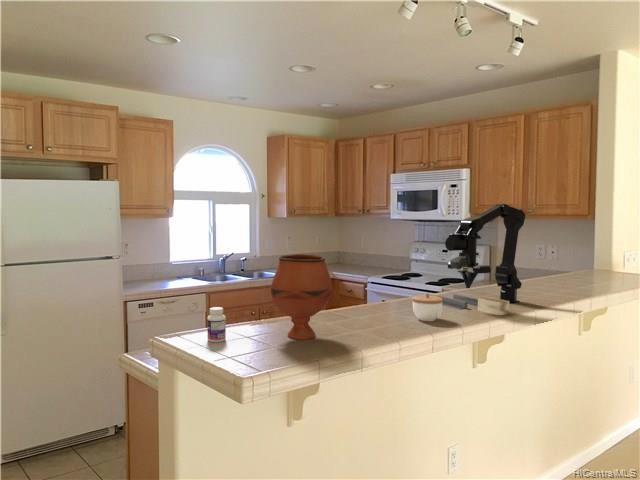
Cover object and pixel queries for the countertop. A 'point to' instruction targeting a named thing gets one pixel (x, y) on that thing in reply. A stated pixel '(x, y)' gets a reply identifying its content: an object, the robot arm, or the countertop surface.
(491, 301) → the ash block
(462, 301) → the chute
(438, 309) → the lidded jar
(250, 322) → the countertop surface
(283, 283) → the goblet
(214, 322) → the pill bottle
